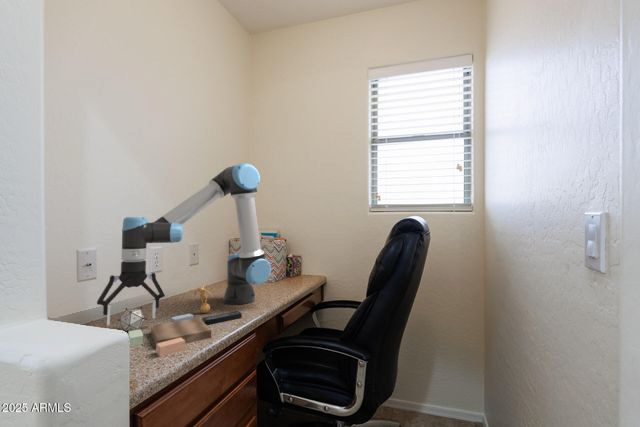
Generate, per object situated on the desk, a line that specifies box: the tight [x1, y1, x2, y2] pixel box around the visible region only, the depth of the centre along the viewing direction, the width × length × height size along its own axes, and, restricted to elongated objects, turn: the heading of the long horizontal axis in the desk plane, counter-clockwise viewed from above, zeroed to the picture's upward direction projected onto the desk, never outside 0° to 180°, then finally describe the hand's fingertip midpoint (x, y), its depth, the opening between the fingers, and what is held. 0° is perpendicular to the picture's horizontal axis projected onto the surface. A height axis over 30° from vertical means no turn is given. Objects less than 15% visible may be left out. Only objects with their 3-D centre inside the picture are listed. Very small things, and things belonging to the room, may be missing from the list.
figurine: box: [194, 285, 214, 314], centre depth 128 cm, size 8×6×12 cm
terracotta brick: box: [155, 337, 186, 358], centre depth 91 cm, size 7×4×3 cm, turn 135°
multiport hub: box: [201, 310, 243, 326], centre depth 120 cm, size 4×14×2 cm, turn 129°
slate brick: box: [170, 313, 195, 322], centre depth 115 cm, size 7×4×3 cm, turn 135°
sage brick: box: [127, 328, 144, 347], centre depth 98 cm, size 7×4×3 cm, turn 36°
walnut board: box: [150, 317, 212, 345], centre depth 104 cm, size 16×16×2 cm
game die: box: [116, 306, 148, 332], centre depth 108 cm, size 9×8×10 cm
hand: (131, 320), depth 108 cm, fingers open, 13 cm apart
